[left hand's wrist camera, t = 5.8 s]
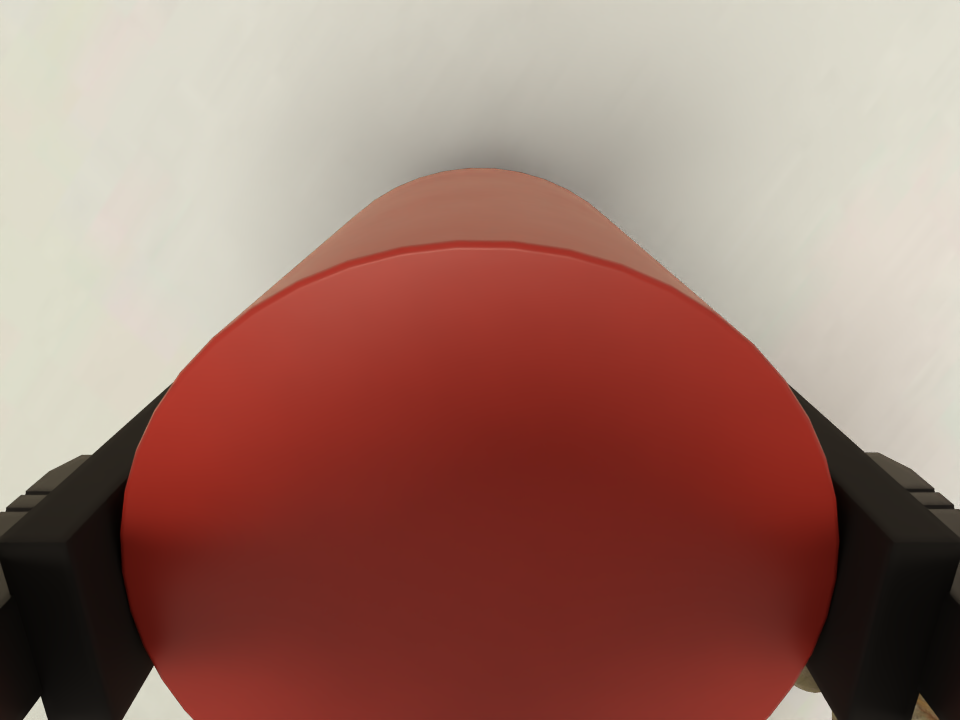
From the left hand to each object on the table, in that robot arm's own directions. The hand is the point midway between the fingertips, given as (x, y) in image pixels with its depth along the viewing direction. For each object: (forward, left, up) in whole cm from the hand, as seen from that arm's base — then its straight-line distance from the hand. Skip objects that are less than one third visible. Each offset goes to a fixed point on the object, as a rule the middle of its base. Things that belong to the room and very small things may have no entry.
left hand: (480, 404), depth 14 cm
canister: (0, 0, -3) cm, 3 cm away
